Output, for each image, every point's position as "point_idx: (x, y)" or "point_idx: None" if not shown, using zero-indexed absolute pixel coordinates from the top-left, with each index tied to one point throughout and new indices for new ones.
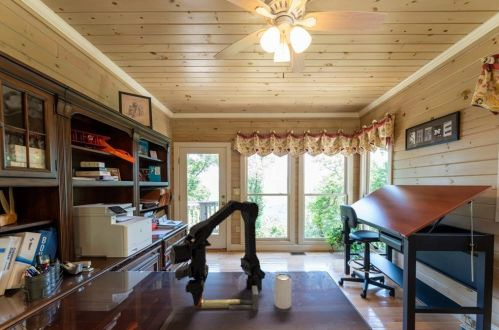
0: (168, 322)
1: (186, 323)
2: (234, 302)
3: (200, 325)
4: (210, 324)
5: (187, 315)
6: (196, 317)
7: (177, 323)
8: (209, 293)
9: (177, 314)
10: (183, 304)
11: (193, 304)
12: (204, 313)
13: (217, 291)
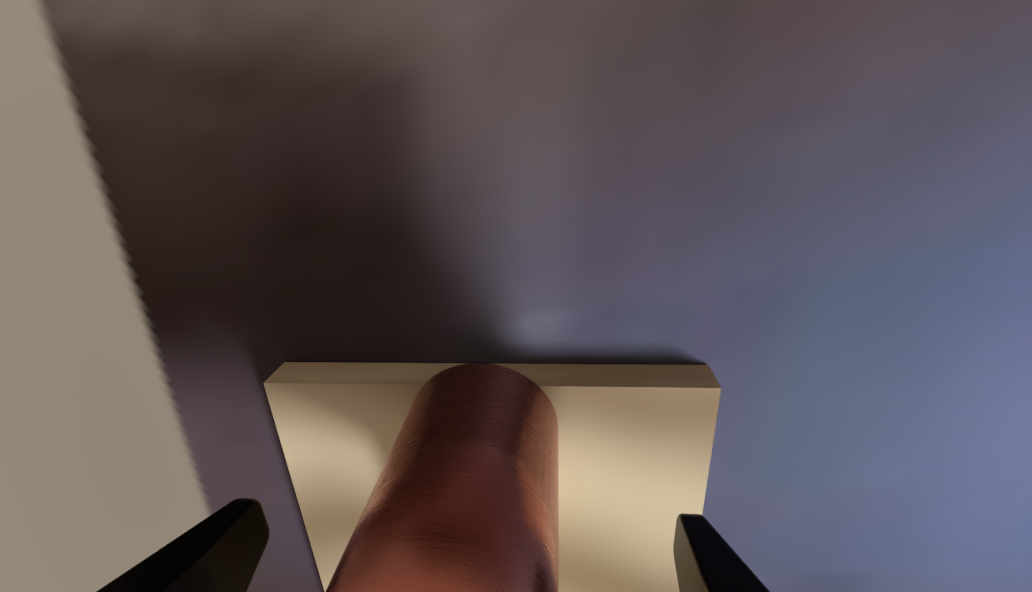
0: (119, 14)
1: (178, 302)
2: None
3: (189, 454)
4: None
5: (353, 280)
6: None
7: (141, 178)
8: (967, 500)
9: (358, 112)
10: (683, 142)
11: (427, 410)
12: None
13: (988, 588)
